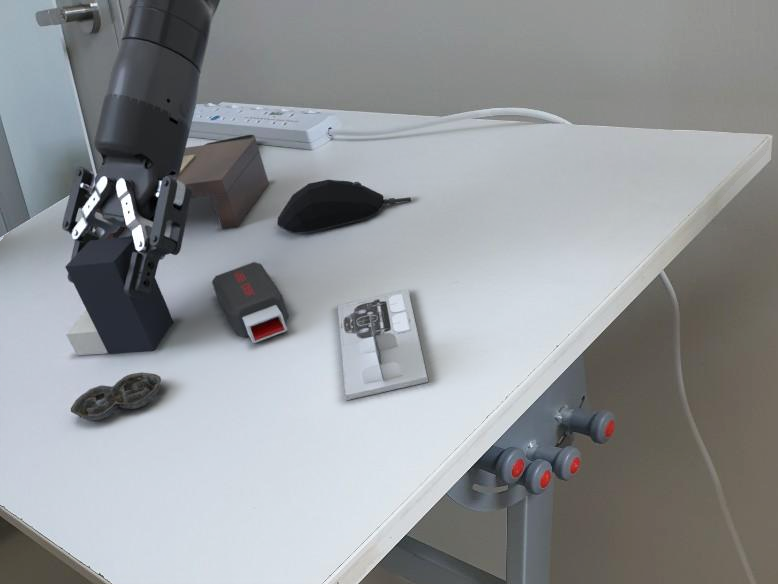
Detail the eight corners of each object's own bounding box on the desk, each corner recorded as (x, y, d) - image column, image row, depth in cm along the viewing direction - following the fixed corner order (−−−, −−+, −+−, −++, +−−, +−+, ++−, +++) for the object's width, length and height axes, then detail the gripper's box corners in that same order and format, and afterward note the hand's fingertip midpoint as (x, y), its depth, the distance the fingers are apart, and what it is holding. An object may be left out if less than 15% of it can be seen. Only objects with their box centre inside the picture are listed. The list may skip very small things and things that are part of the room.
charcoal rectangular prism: (174, 322, 85) (137, 234, 79) (154, 350, 82) (113, 261, 75) (98, 328, 87) (57, 243, 81) (76, 356, 84) (31, 270, 78)
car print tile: (428, 381, 69) (418, 332, 66) (346, 400, 69) (332, 351, 66) (409, 293, 80) (399, 247, 77) (338, 310, 80) (326, 265, 77)
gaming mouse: (413, 212, 93) (405, 174, 90) (278, 241, 94) (267, 205, 91) (409, 189, 97) (402, 153, 95) (281, 217, 99) (271, 183, 96)
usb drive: (266, 280, 88) (257, 254, 86) (298, 329, 79) (289, 302, 77) (217, 298, 87) (207, 272, 85) (244, 349, 78) (234, 322, 76)
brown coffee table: (100, 242, 104) (79, 196, 100) (140, 199, 112) (122, 154, 109) (237, 227, 99) (220, 177, 95) (269, 183, 107) (254, 135, 104)
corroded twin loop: (74, 404, 77) (68, 395, 76) (160, 373, 78) (156, 363, 77) (77, 433, 73) (71, 423, 72) (168, 400, 74) (163, 390, 73)
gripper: (65, 89, 78) (25, 268, 80) (167, 91, 71) (120, 289, 72) (132, 127, 85) (94, 292, 86) (233, 132, 77) (188, 314, 79)
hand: (106, 290), depth 79 cm, fingers open, 8 cm apart
